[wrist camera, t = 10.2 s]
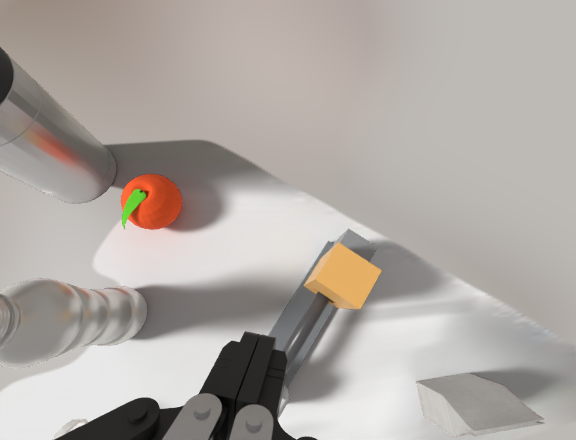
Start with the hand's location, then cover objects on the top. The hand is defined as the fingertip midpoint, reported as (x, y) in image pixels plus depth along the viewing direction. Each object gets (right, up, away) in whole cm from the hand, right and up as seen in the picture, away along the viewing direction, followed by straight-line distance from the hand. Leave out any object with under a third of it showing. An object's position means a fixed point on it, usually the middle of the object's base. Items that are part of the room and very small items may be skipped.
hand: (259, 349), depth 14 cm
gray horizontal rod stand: (+3, -6, +24) cm, 25 cm away
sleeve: (+6, -1, +21) cm, 22 cm away
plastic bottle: (-19, -6, +23) cm, 30 cm away
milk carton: (+21, -15, +22) cm, 34 cm away
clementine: (-16, +7, +26) cm, 32 cm away
